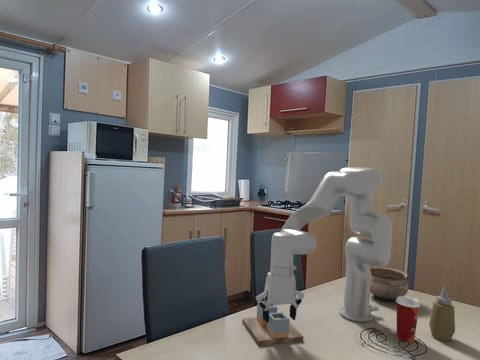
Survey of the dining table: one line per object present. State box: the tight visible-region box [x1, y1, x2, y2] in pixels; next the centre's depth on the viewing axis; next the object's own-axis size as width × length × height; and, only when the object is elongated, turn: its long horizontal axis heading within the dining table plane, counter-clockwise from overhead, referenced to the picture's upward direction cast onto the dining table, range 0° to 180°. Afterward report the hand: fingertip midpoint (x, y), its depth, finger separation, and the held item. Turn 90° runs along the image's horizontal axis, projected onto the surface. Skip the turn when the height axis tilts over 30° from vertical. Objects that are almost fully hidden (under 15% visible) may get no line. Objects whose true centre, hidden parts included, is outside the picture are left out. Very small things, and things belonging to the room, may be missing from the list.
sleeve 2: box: [267, 311, 291, 338], centre depth 116 cm, size 6×6×6 cm
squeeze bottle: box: [428, 287, 456, 342], centre depth 123 cm, size 8×8×18 cm
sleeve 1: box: [256, 301, 278, 325], centre depth 125 cm, size 6×6×6 cm
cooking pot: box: [369, 266, 410, 302], centre depth 160 cm, size 25×19×12 cm
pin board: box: [241, 316, 304, 346], centre depth 121 cm, size 16×17×6 cm
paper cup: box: [395, 295, 421, 344], centre depth 121 cm, size 8×8×14 cm
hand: (279, 319), depth 116 cm, fingers open, 9 cm apart
